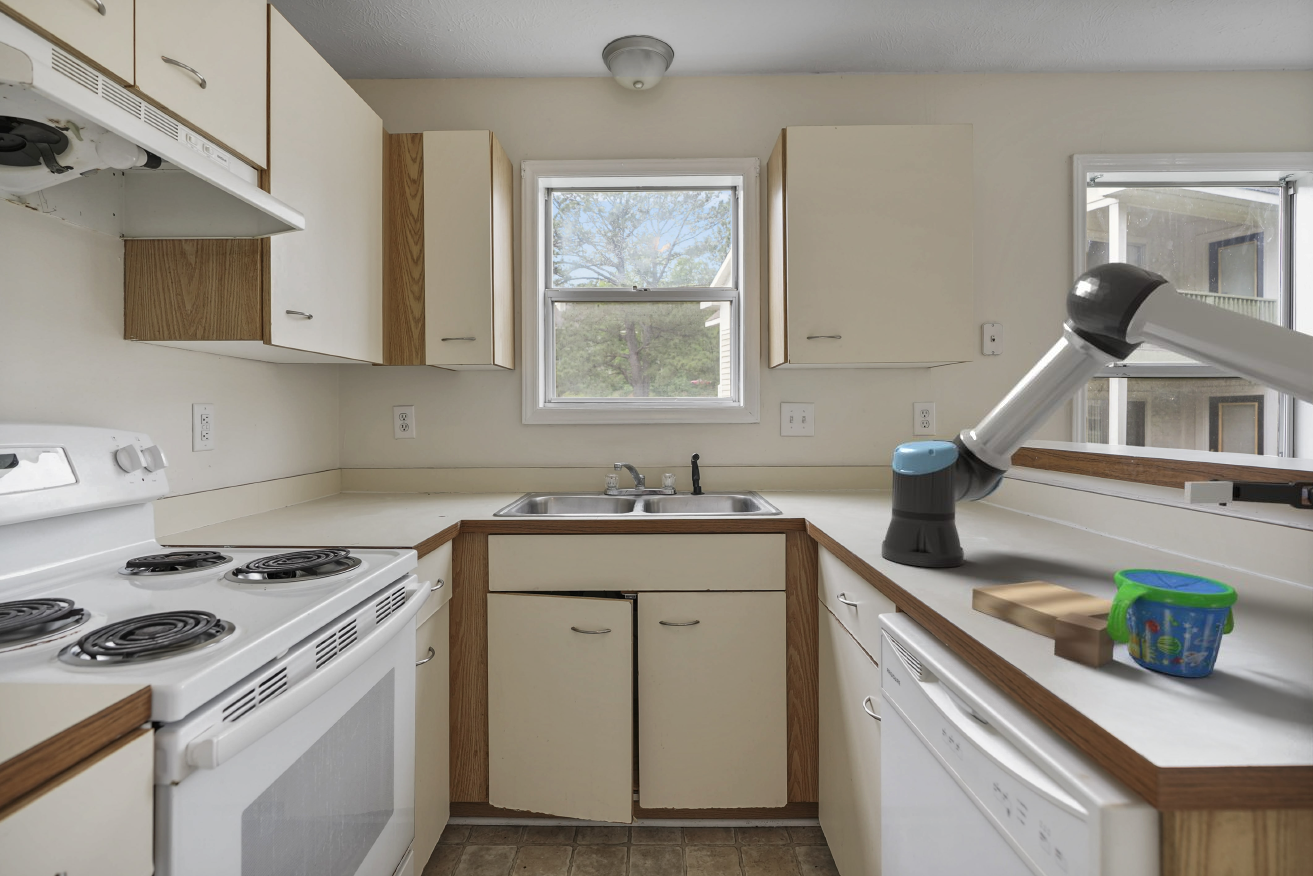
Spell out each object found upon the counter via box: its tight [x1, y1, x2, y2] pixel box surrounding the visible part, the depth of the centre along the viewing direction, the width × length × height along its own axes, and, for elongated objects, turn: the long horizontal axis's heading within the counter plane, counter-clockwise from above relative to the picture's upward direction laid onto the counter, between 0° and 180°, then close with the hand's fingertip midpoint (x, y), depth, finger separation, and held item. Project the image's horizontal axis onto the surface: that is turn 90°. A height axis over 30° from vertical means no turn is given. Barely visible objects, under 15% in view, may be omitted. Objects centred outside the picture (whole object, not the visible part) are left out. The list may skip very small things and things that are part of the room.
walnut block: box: [1053, 612, 1115, 669], centre depth 72 cm, size 4×4×4 cm
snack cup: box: [1106, 568, 1239, 678], centre depth 70 cm, size 16×10×10 cm
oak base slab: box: [971, 580, 1113, 640], centre depth 86 cm, size 14×14×3 cm
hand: (1247, 500), depth 71 cm, fingers open, 13 cm apart
